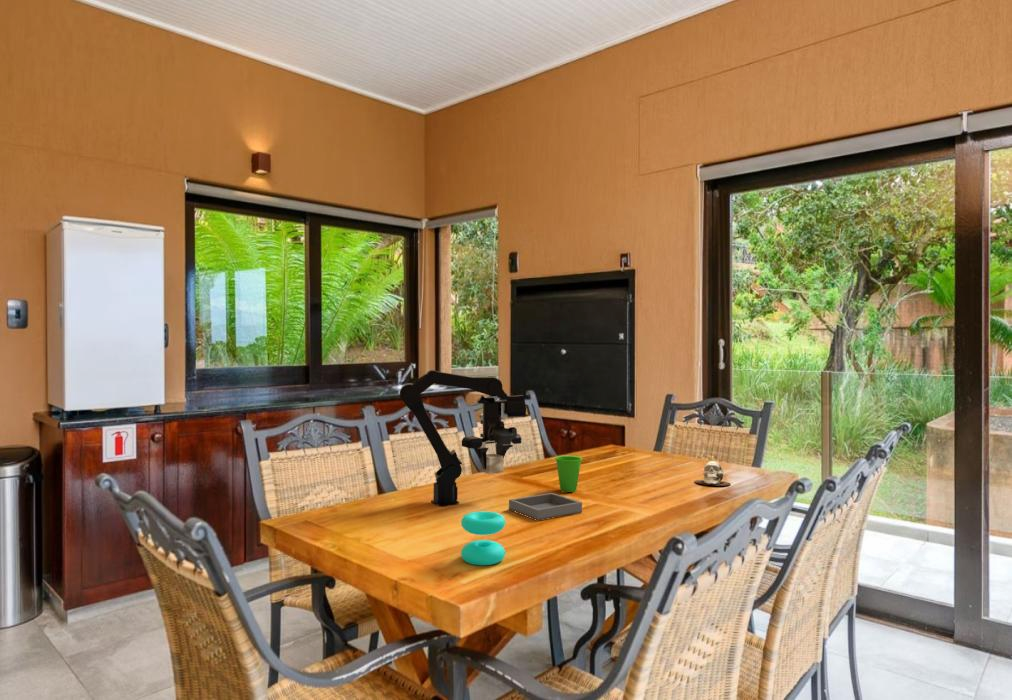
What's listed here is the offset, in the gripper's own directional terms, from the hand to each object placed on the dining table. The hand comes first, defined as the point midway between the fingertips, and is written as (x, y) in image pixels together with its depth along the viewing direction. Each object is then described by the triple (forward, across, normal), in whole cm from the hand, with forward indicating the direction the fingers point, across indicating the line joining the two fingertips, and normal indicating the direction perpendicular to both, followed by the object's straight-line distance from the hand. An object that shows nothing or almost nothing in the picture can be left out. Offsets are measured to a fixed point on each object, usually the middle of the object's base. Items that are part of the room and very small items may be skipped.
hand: (491, 468), depth 198 cm
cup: (+11, +29, -2) cm, 31 cm away
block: (+1, 0, 0) cm, 1 cm away
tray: (+10, +7, -18) cm, 22 cm away
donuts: (+10, -30, -43) cm, 54 cm away
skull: (+11, +79, -20) cm, 82 cm away
